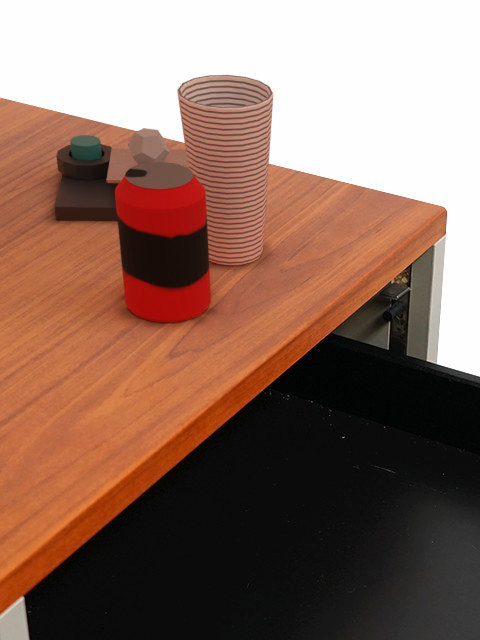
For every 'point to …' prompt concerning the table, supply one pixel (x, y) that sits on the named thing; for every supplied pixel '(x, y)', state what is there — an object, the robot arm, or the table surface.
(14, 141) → the table surface
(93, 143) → the button
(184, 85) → the cup
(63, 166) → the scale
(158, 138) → the polyhedron
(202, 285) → the soda can
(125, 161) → the pan
